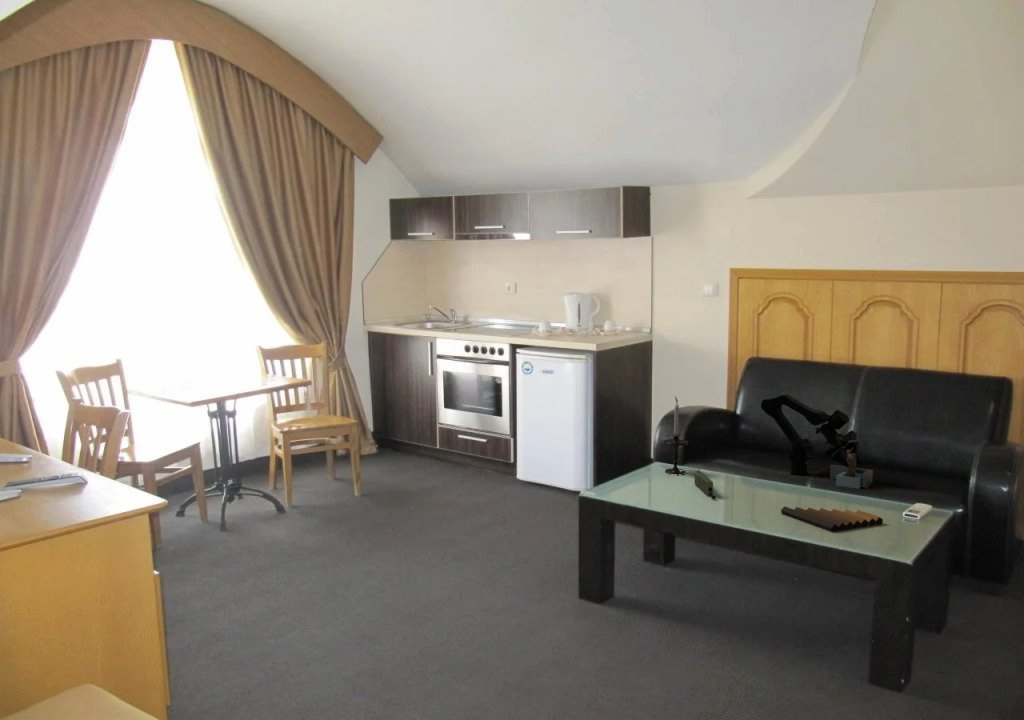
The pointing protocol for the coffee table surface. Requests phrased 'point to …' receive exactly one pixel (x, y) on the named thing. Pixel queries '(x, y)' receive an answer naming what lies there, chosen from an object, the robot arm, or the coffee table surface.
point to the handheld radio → (704, 484)
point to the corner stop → (865, 473)
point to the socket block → (849, 480)
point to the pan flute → (833, 518)
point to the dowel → (851, 464)
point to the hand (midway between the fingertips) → (854, 465)
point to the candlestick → (675, 443)
